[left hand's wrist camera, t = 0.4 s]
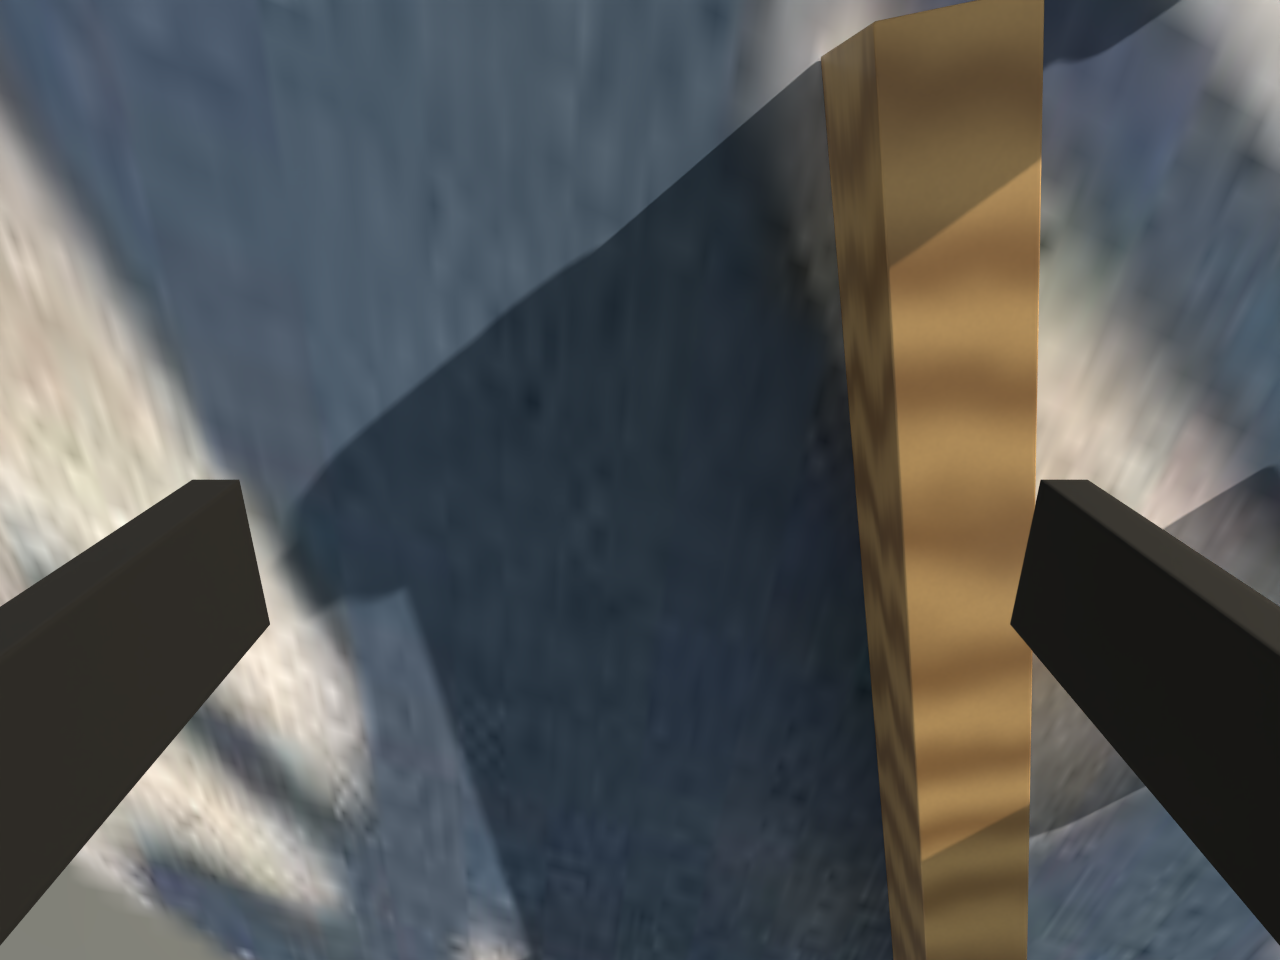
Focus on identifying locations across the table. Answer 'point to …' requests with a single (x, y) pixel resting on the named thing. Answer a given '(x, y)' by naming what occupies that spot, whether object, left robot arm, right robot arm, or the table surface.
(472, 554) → the table surface
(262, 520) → the table surface
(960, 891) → the post
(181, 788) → the table surface
